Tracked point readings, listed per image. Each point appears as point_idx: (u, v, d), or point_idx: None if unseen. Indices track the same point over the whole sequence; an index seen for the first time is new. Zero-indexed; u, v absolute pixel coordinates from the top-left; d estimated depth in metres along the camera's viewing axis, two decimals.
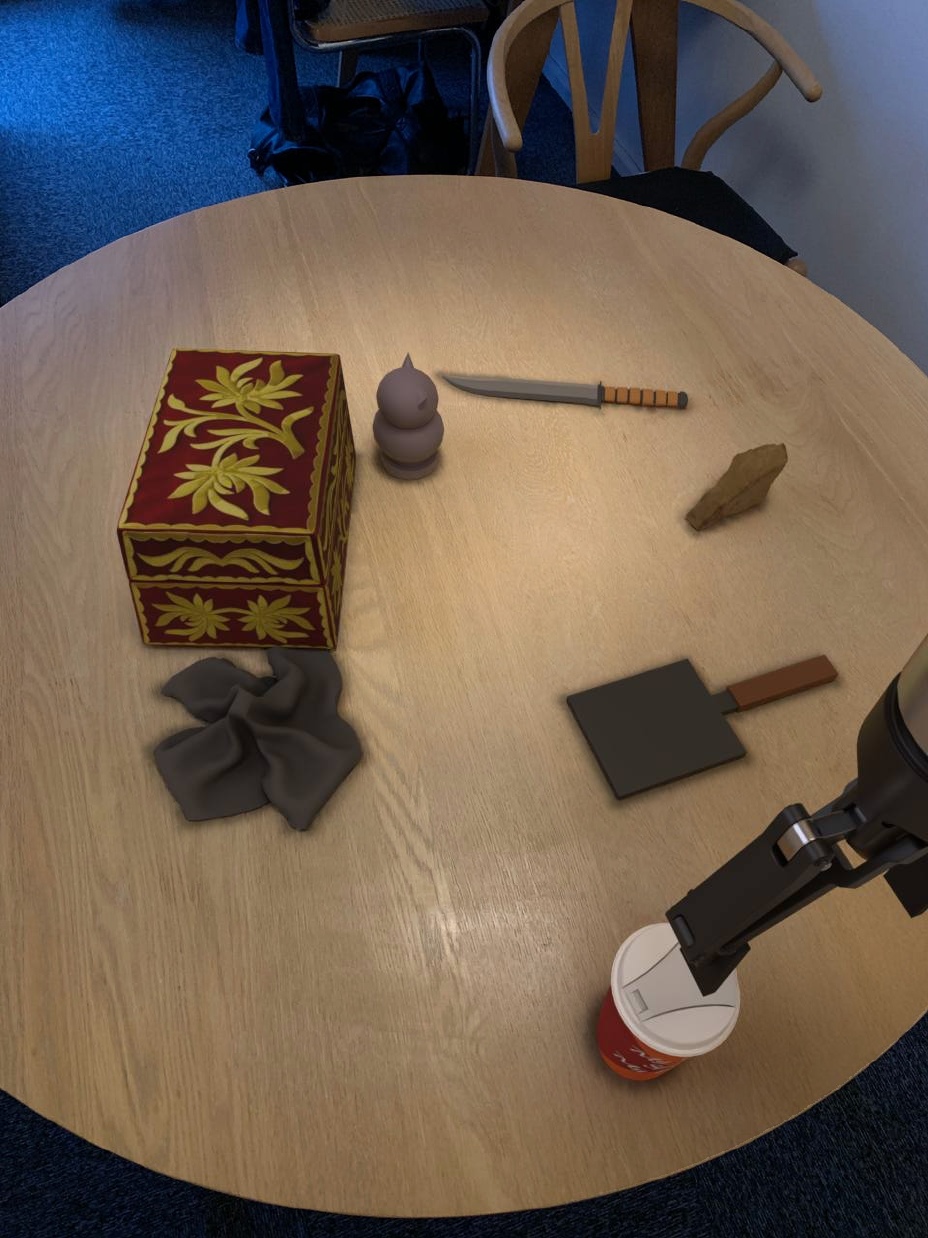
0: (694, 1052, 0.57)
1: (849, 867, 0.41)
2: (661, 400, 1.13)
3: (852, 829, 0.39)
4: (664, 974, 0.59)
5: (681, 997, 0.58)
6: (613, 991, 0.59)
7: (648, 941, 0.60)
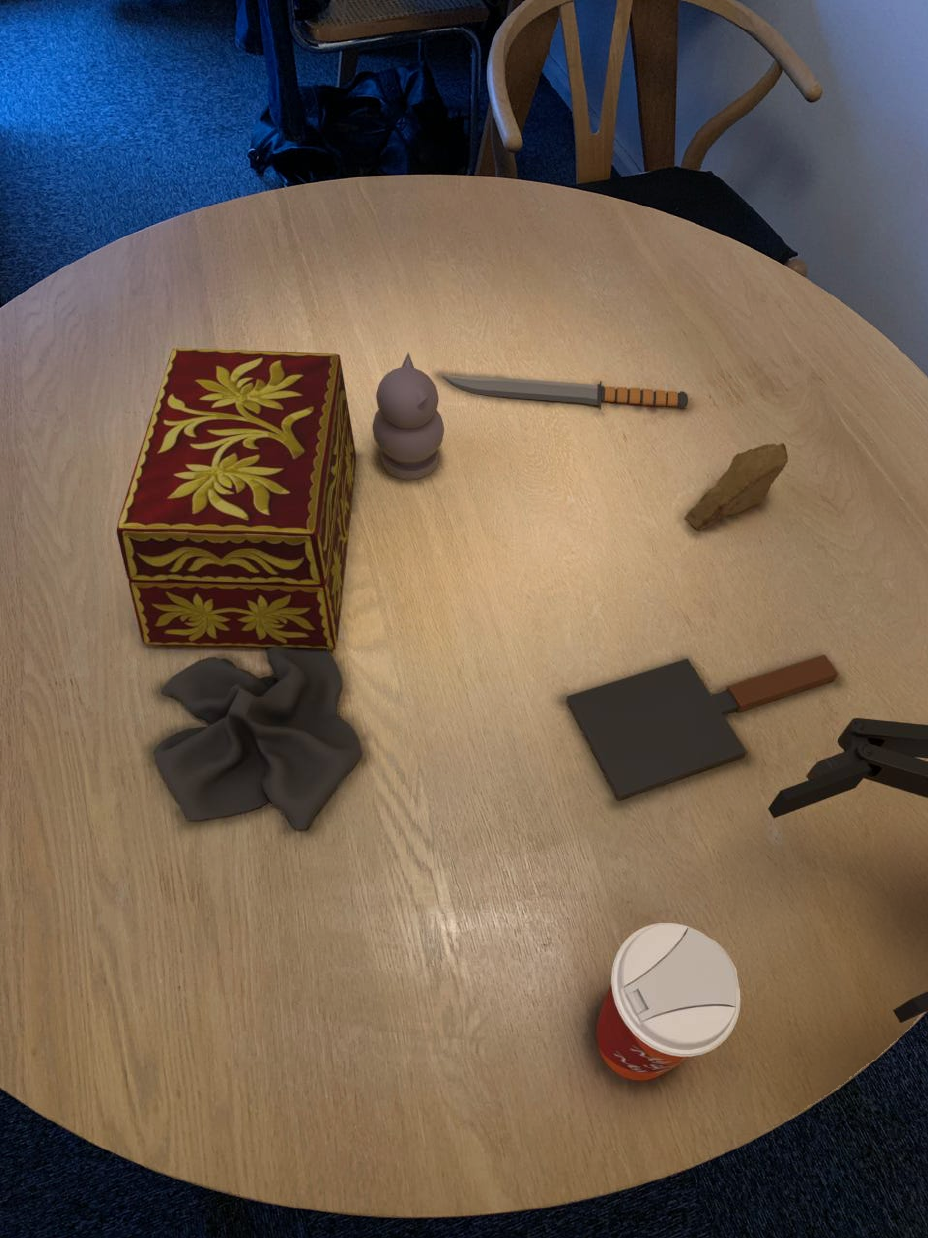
0: (694, 1052, 0.57)
1: None
2: (661, 400, 1.13)
3: None
4: (665, 974, 0.59)
5: (681, 997, 0.58)
6: (613, 991, 0.59)
7: (648, 941, 0.60)
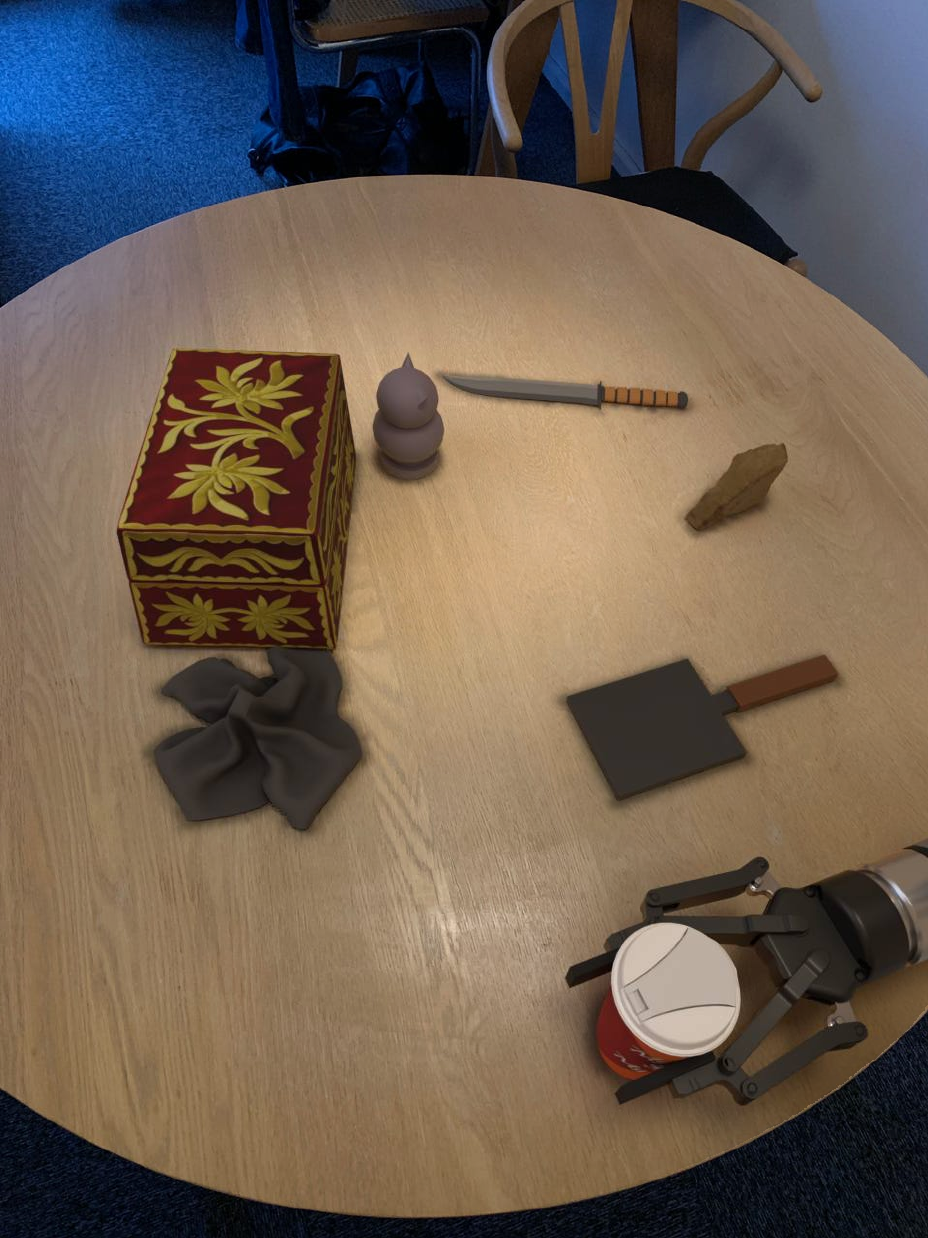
0: (694, 1052, 0.57)
1: None
2: (661, 400, 1.13)
3: (780, 886, 0.69)
4: (665, 974, 0.59)
5: (681, 997, 0.58)
6: (613, 991, 0.59)
7: (648, 941, 0.60)
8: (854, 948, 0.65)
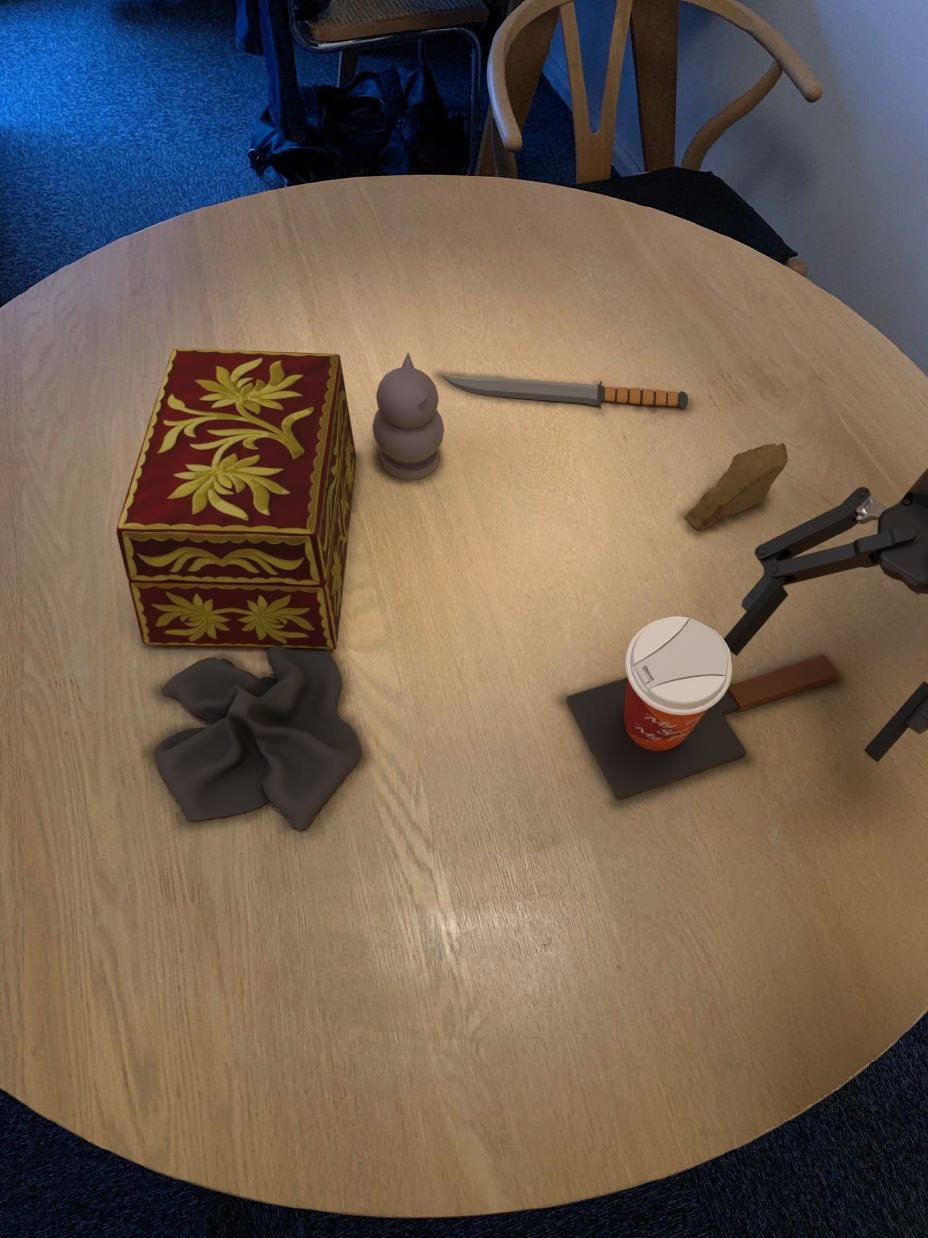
0: (691, 711, 0.71)
1: None
2: (661, 400, 1.13)
3: (886, 507, 0.73)
4: (668, 654, 0.72)
5: (681, 670, 0.72)
6: (627, 669, 0.73)
7: (655, 630, 0.73)
8: None
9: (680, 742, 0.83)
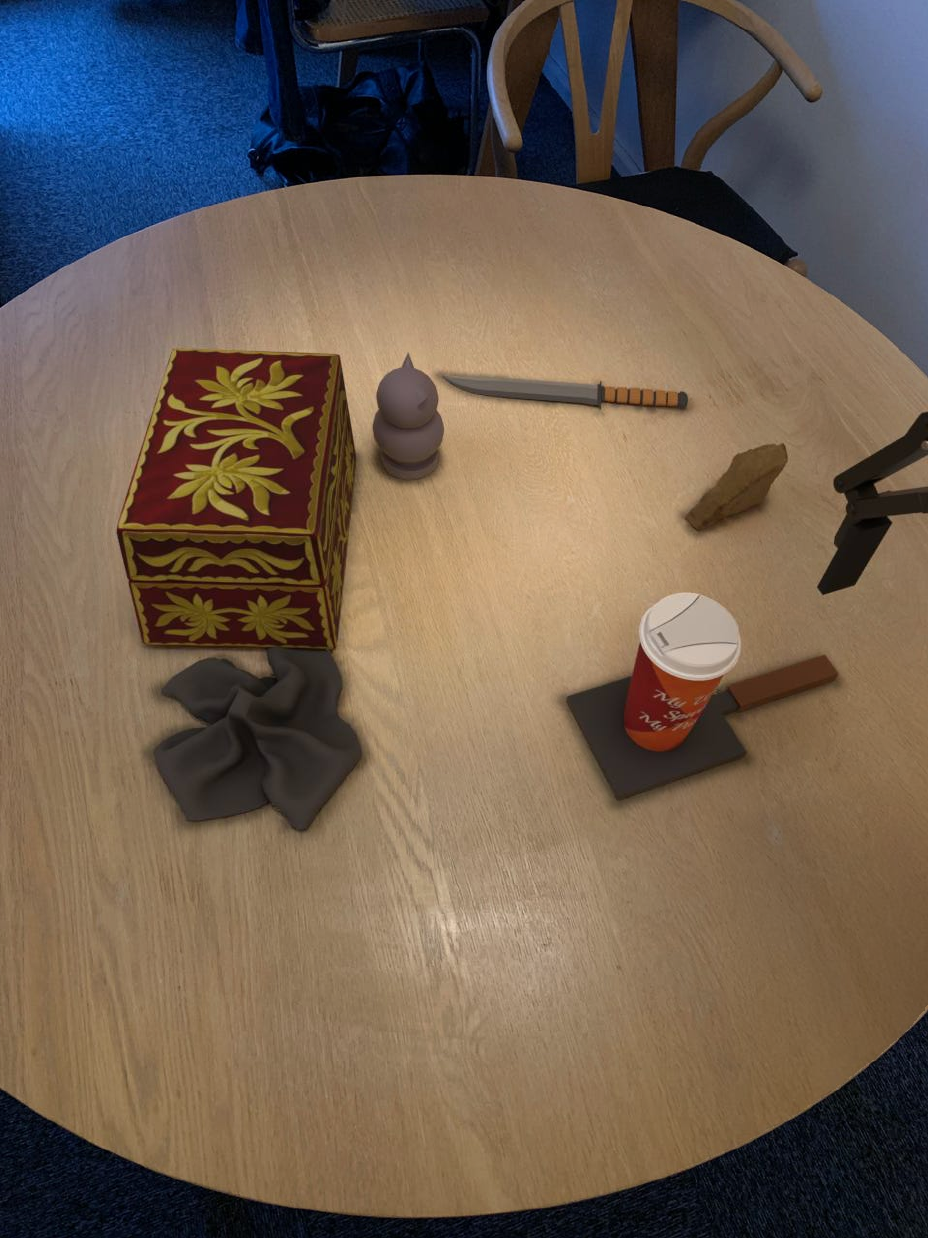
0: (705, 676, 0.73)
1: None
2: (661, 400, 1.13)
3: None
4: (681, 623, 0.74)
5: (694, 637, 0.74)
6: (640, 638, 0.75)
7: (668, 602, 0.76)
8: None
9: (680, 741, 0.84)
